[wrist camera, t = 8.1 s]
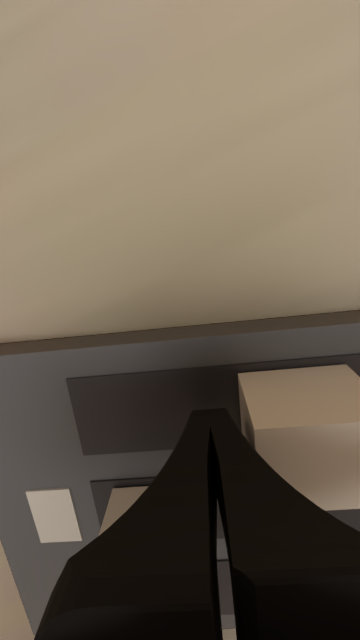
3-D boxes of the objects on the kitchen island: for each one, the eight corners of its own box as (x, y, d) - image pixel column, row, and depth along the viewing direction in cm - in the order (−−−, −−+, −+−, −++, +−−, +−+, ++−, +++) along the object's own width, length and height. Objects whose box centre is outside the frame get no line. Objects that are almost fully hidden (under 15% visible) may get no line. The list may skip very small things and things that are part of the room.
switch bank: (404, 589, 18) (424, 625, 16) (45, 603, 19) (32, 637, 17) (438, 302, 13) (471, 313, 12) (-37, 347, 14) (-64, 362, 13)
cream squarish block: (343, 433, 13) (395, 506, 10) (242, 440, 13) (258, 514, 10) (345, 364, 12) (404, 418, 9) (237, 373, 12) (254, 429, 9)
